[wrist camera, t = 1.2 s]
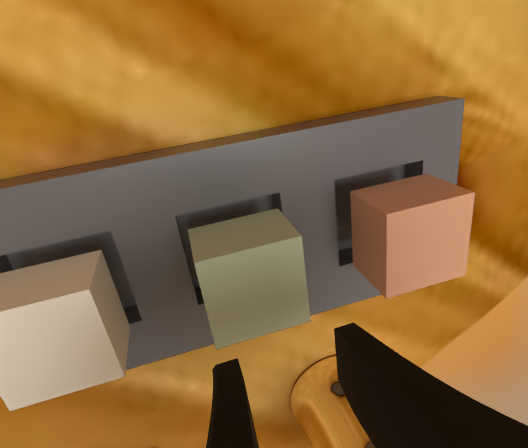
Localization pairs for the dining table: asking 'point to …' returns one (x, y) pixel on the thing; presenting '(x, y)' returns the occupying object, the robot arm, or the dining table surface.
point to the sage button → (250, 276)
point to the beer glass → (326, 409)
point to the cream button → (60, 329)
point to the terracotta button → (411, 233)
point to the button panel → (223, 209)
